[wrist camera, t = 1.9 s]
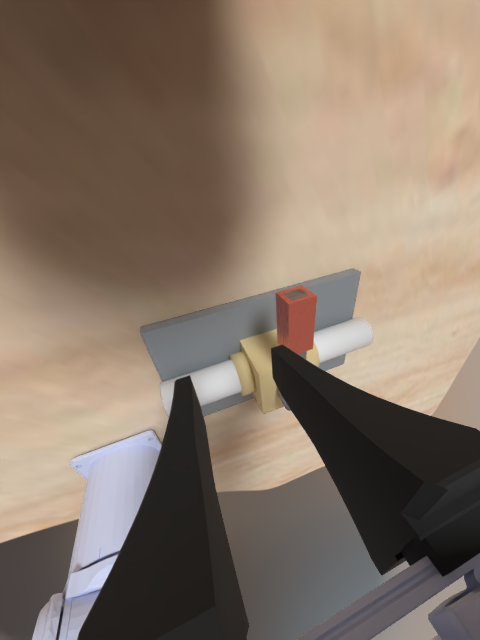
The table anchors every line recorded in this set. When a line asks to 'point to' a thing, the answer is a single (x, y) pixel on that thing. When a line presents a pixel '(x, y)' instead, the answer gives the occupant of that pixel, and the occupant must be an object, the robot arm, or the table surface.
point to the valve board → (238, 324)
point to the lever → (295, 321)
